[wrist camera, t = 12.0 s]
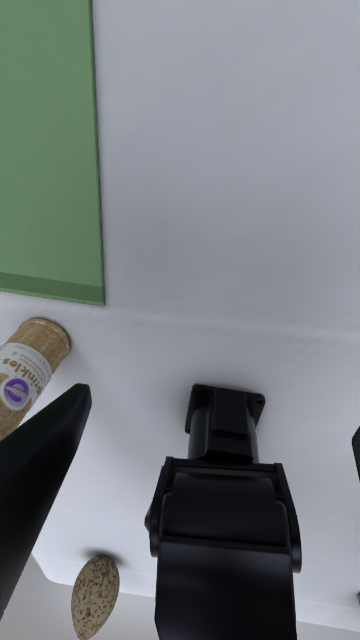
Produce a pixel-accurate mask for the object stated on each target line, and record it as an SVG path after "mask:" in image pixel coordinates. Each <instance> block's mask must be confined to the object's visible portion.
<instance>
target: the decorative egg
mask: <svg viewBox="0 0 360 640" xmlns="http://www.w3.org/2000/svg"><path fill="white" fill-rule="evenodd" d="M119 583H120V581H119V572H118V569H117V567H116V565H115V563H114V562H113V560H111V559H110V558H109V557H107V556H97V557H94V558H92V559H91V560H90V561H88V562H87V563H86V564H85V565H84V567H83V568H82V570H81V571H80V573H79V575H78V577H77V579H76V581H75V584H74V588H73V593H72V600H71V609H72V610H71V611H72V620H73V625H74V628H75V632H76V634H77V636H78V638H79V639H80V640H88V639H90V638H91V637H92V636H93V635H95V634H96V633H97V632H98V630H99V629H100V628H101V627H102V626H103V624H104V623H105V622H106V620H107V619H108V617H109V616H110V614H111V612H112V610H113V608H114V606H115V603H116V600H117V596H118V592H119Z"/></svg>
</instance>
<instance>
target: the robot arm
mask: <svg viewBox="0 0 360 640" xmlns="http://www.w3.org/2000/svg"><path fill="white" fill-rule="evenodd" d="M197 390H198V391H197ZM264 404H265V397H264V396H263V395H261V394H255V393H248V392H242V391H236V390H230V389H223V388H217V387H211V386H205V385H198V384H196V385H193V386H192V390H191V396H190V402H189V408H188V413H187V419H186V425H185V432H186V433H188V434H190V438H189V448H188V458H187V459H179V458H174V457H166V460H165V464H164V466H162V469H161V472H160V476H159V480H158V483H157V487H156V490H155V494H154V497H153V501H152V503H151V505H150V507H149V510H148V512H147V514H146V516H145V527H146V529H147V530H148V532H149V538H150V552H151V556H152V557H158V561H157V580H156V600H155V601H156V606H155V618H154V619H155V624H156V628H157V632H158V636H159V639H160V640H297V633H296V613H295V599H294V585H293V572H294V573H300V571H301V565H302V551H301V539H300V531H299V525H298V519H297V515H296V511H295V507H294V504H293V500H292V497H291V493H290V490H289V486H288V483H287V479H286V476H285V472H284V469H283V466H282V463H274V464H263V463H259V455H258V447H257V438H256V430H255V428H256V425H257V423H258V420H259V418H260V415H261V412H262V410H263V407H264ZM91 405H92V398H91V392H90V386H89V385H87V384H81V383H77V384H75V385H74V386H72V387H71V388H70V389H68V390H67V391H66V392H64V393H63V394H62V395H60V396H59V397H58V398H56V399H55V400H54V401H52V402H51V403H50V404H49V405H47V406H46V407H45V408H43V409H42V410H41V411H39V412H38V413H37V414H35V415H34V416H33V417H31V418H30V419H29V420H27V421H26V422H25V423H23V424H22V425H21V426H19V427H18V428H17V429H15V430H14V431H13V432H11V433H10V434H9V435H7V436H6V437H5V438H3V439H2V440H1V441H0V620H1V618H2V616H3V614H4V610H5V609H6V607H7V605H8V602H9V600H10V598H11V595H12V593H13V591H14V589H15V587H16V585H17V582H18V580H19V578H20V576H21V573H22V571H23V569H24V566H25V565H26V562H27V560H28V558H29V556H30V554H31V551H32V549H33V547H34V545H35V543H36V540H37V538H38V536H39V534H40V531H41V529H42V527H43V525H44V523H45V520H46V518H47V516H48V514H49V512H50V509H51V507H52V505H53V503H54V500H55V498H56V496H57V494H58V492H59V489H60V487H61V485H62V483H63V481H64V478H65V476H66V474H67V472H68V469H69V467H70V465H71V463H72V461H73V458H74V456H75V454H76V451H77V449H78V446H79V443H80V440H81V437H82V434H83V431H84V428H85V425H86V422H87V418H88V415H89V412H90V409H91ZM352 447H353V452H354V457H355V462H356V466H357V471H358V476H359V481H360V426H359V428H358V429H357V431H356V432H355V434H354V436H353V438H352Z"/></svg>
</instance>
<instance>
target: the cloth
mask: <svg viewBox="0 0 360 640" xmlns="http://www.w3.org/2000/svg"><path fill="white" fill-rule="evenodd" d="M0 291H5V292H11V293H18V294H25V295H31V296H38V297H45V298H51V299H58V300H65V301H71V302H78V303H85V304H91V305H98V306H104V304H105V296H104V274H103V252H102V230H101V208H100V186H99V164H98V142H97V120H96V97H95V75H94V53H93V31H92V9H91V0H0Z"/></svg>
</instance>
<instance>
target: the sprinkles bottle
mask: <svg viewBox="0 0 360 640" xmlns="http://www.w3.org/2000/svg"><path fill="white" fill-rule="evenodd" d="M69 350H70V342H69V339H68V337H67V336H66V333H65V332H64V331H63V330H62V329H61V328H60V327H59V326H57V325H56V324H54V323H52V322H50V321H47V320H44V319H31V320H27V321H25V322H23V323H22V324H21V326H20V327H19V328H18V330H17V331H16V332H15V333H14V334H13V335H12V336H11V337H10V338H9V339H8V341H7V342H6V343H5V344H4V345H2V346H1V347H0V441H1V440H2V439H3V438H5V437H6V436H7V435H9V434H10V433H11V432H13V431H14V430H15V429H16V428H17V427H18V425H19V424H20V422H21V421H22V419H23V418H24V416H25V415H26V413H27V412H29V410H30V409H31V408H32V406H33V405H34V403H35V402H36V400H37V399H38V397H39V396H40V394H41V393H42V391H43V390H44V388H45V387H46V385H47V384H48V382H49V381H50V379H51V376H52V374H53V373H54V372H55V370H56V368H57V367H58V365H59V364H60V363H61V361H62V360H63V359H64V358H65V357H66V356H67V355H68V352H69Z"/></svg>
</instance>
